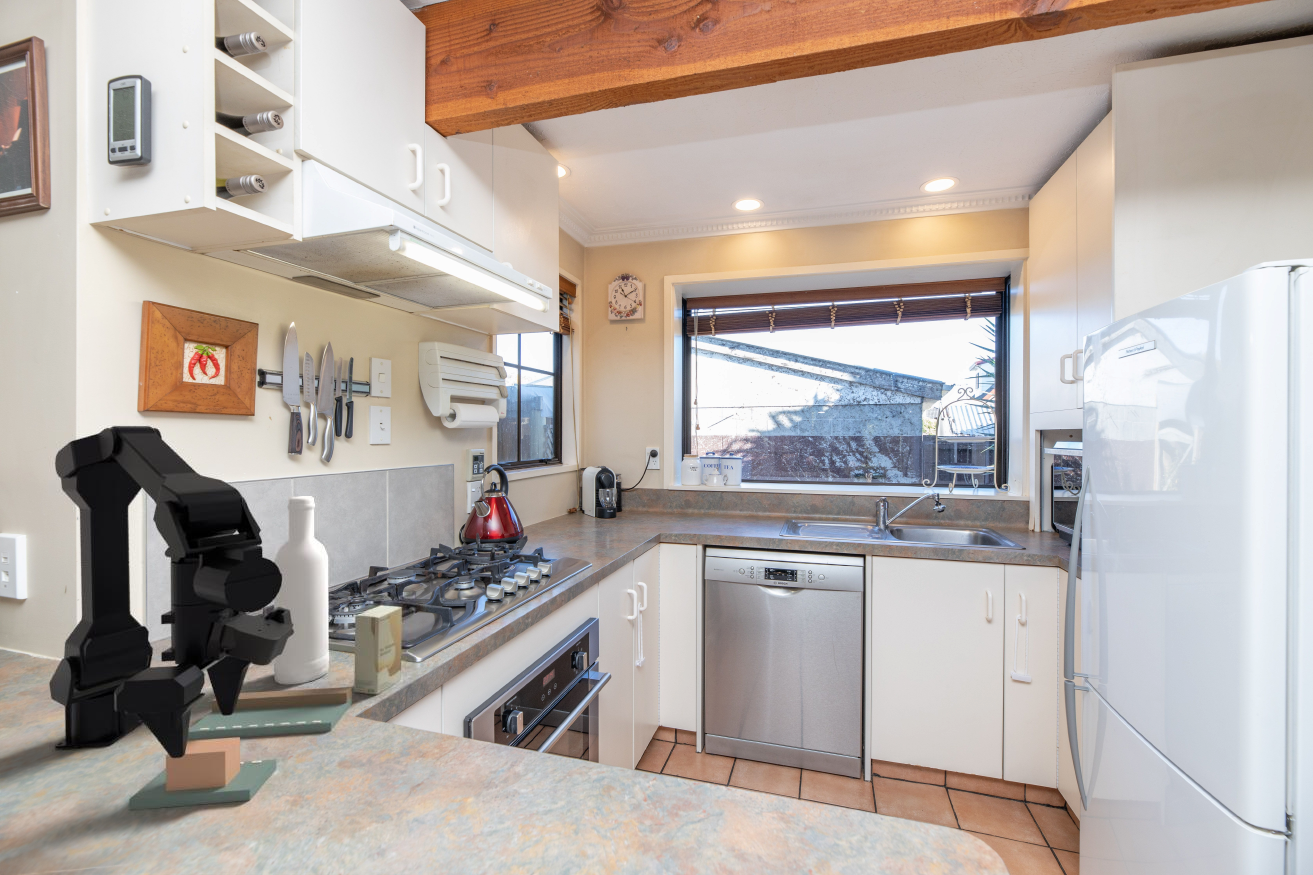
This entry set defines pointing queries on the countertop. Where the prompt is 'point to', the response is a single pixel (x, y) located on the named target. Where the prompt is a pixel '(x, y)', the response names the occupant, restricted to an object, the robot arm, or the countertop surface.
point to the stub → (204, 777)
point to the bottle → (303, 598)
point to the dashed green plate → (276, 714)
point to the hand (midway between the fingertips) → (204, 734)
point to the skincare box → (377, 649)
